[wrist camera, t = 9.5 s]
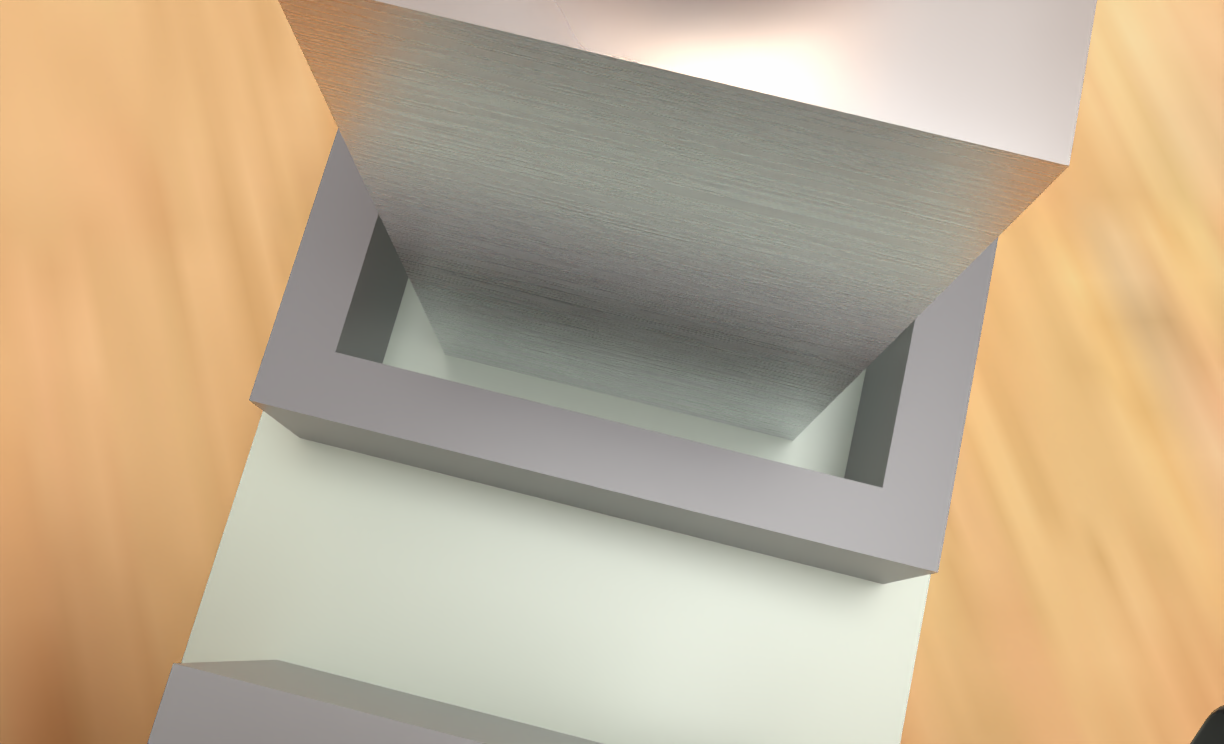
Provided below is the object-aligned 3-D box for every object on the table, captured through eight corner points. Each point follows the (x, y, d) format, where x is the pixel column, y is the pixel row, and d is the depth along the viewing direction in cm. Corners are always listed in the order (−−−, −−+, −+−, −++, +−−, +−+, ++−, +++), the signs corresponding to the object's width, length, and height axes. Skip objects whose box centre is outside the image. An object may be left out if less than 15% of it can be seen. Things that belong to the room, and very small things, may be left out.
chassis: (779, 1233, 15) (885, 1546, 10) (93, 1047, 16) (-162, 1254, 10) (994, 82, 19) (1153, -137, 14) (441, -49, 20) (388, -311, 14)
